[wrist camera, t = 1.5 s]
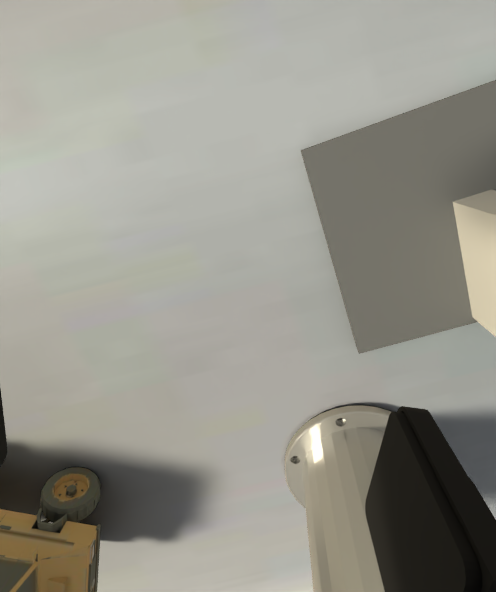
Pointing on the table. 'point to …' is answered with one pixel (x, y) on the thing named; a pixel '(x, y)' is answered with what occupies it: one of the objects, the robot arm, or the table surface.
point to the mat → (404, 214)
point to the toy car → (53, 538)
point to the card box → (479, 253)
